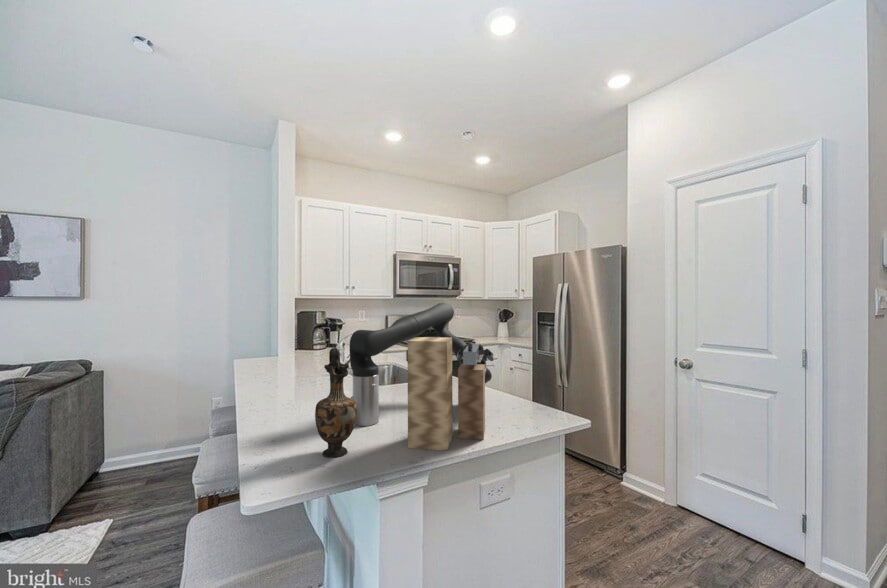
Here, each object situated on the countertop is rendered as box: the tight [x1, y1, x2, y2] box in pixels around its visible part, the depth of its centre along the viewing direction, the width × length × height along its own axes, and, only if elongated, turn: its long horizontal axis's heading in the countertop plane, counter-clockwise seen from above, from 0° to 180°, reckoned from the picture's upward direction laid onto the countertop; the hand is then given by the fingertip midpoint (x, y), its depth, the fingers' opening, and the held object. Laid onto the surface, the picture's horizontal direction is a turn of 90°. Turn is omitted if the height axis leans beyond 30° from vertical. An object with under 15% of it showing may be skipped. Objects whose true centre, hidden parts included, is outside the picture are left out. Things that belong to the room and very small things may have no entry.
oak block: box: [407, 336, 454, 451], centre depth 120 cm, size 12×11×32 cm
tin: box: [463, 342, 481, 365], centre depth 129 cm, size 4×20×6 cm, turn 171°
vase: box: [314, 347, 357, 459], centre depth 112 cm, size 12×12×30 cm
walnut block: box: [457, 364, 486, 441], centre depth 127 cm, size 8×10×22 cm
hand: (473, 347), depth 133 cm, fingers closed on tin, 4 cm apart
